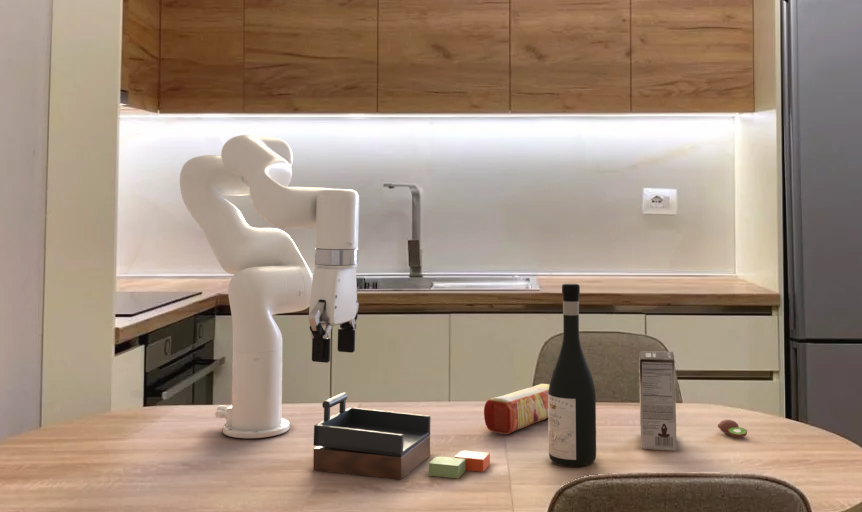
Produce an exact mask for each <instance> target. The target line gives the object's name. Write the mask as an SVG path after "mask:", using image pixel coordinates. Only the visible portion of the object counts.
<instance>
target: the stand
mask: <svg viewBox="0 0 862 512" xmlns="http://www.w3.org/2000/svg"><path fill="white" fill-rule="evenodd" d="M429 457H431V434H430V435H429V436H428V437H426V438H425V439H424V440H422V441H421V442H420V443H418V444H417V445H416V446H414V447H413V448H412V449H410V450H409V451H408V452H406V453H405V454H404V455H402V456H393V455H385V454H377V453H369V452H361V451H353V450H345V449H337V448H329V447H321V446H315V447H314V448H313V459H312V461H313V462H312V463H313V465H312V466H313V467H312V468H313V471H318V472H327V473H335V474H345V475H355V476H365V477H373V478H381V479H390V480H392V479H393V480H402V479H404V478H405V477H407V475H409V474H410V473H411V472H412V471H414V470H415V468H417V467H418V466H420V465H421V464H422V463H423V462H424V461H426V460H427V459H428V458H429Z"/></svg>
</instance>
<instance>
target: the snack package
mask: <svg viewBox="0 0 862 512" xmlns="http://www.w3.org/2000/svg"><path fill="white" fill-rule="evenodd" d="M549 384H550V383H539V384H536V385H534V386H530V387H527V388H522V389H519V390H517V391H514V392H510V393H507V394H503V395H500V396H495V397H491V398H489V399H487V400H486V402H485V404H484V407H483V418H484V423H485V426H486V428H487V430H489V431H490V432H493V433H494V434H499V435H509V434H511V433H514V432H515V431H518V430H521V429H524V428H526V427H528V426H530V425H533V424H536V423H539V422H541V421H544V420H546V419H547V420H548V391H549Z"/></svg>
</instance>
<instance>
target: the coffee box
mask: <svg viewBox="0 0 862 512" xmlns="http://www.w3.org/2000/svg"><path fill="white" fill-rule="evenodd" d="M638 367H639V368H638V373H639V374H638V375H639V376H638V378H639V381H638V382H639V384H638V385H639V421H640V422H639V424H640V425H639V426H640V427H639V428H640V446H641V447H640V448H641V449H642V450H652V451H653V450H655V451H657V450H658V451H673V452H677V400H676V396H677V393H676V389H677V388H676V359H675V354H674V352H673V351H660V350H659V351H657V350H656V351H655V350H653V351H652V350H640V351H639V353H638Z"/></svg>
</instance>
